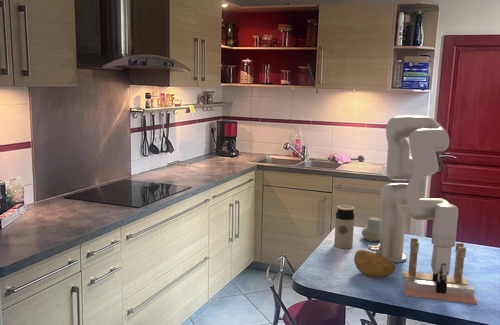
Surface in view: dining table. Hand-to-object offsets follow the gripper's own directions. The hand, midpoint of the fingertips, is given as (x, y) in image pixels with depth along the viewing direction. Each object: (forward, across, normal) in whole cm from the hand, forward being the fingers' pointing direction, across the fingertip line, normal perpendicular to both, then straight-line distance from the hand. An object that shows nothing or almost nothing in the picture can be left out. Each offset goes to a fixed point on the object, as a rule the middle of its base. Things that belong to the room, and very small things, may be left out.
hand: (439, 287), depth 166 cm
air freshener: (+3, -54, -22) cm, 58 cm away
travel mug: (+3, -40, -35) cm, 53 cm away
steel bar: (+2, 0, 0) cm, 2 cm away
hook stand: (+2, -12, 0) cm, 12 cm away
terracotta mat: (+2, 0, 0) cm, 2 cm away
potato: (+3, -9, -22) cm, 24 cm away
